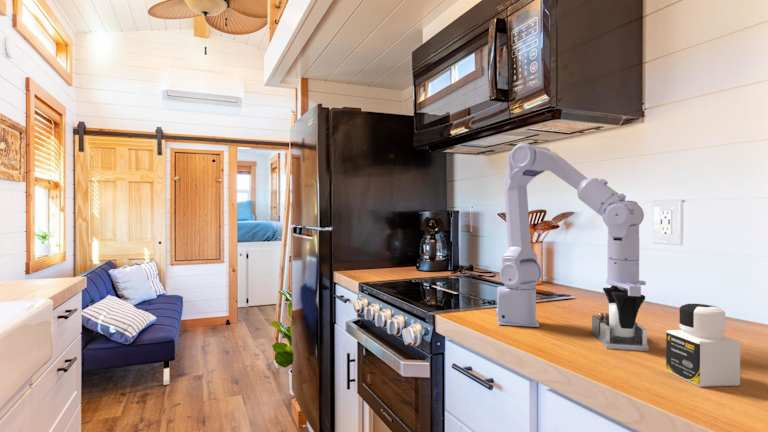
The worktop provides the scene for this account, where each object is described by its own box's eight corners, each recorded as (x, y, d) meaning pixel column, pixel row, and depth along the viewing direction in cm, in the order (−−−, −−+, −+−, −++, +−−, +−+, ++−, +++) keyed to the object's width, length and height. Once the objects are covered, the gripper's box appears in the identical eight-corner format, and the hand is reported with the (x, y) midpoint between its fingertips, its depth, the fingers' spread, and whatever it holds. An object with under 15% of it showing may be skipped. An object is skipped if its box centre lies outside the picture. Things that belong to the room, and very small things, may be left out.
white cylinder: (613, 336, 86) (612, 302, 86) (606, 330, 91) (605, 297, 91) (638, 337, 85) (637, 302, 85) (630, 331, 90) (629, 298, 90)
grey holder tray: (606, 348, 86) (606, 322, 86) (592, 332, 98) (592, 309, 98) (648, 351, 84) (649, 325, 84) (628, 334, 96) (628, 311, 96)
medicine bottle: (665, 371, 74) (665, 301, 74) (703, 369, 74) (704, 300, 74) (699, 387, 66) (699, 310, 66) (741, 386, 67) (741, 310, 67)
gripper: (659, 263, 80) (658, 336, 80) (632, 256, 94) (632, 318, 94) (617, 262, 82) (617, 333, 82) (597, 255, 96) (597, 316, 96)
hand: (622, 325), depth 88 cm, fingers closed on white cylinder, 4 cm apart
